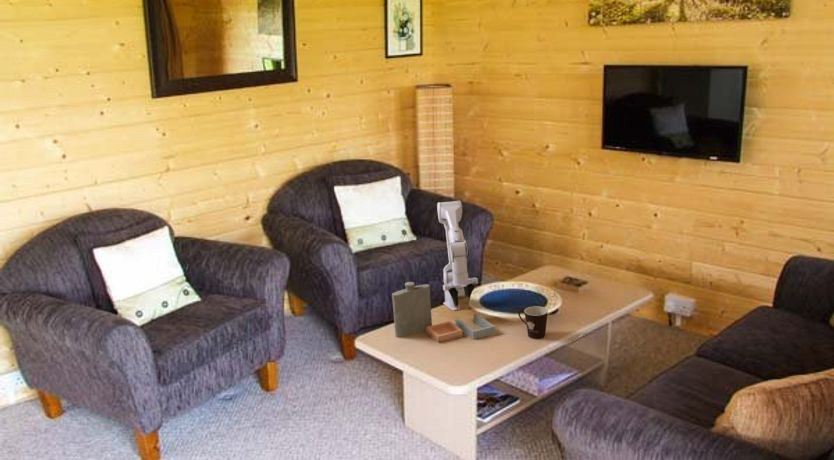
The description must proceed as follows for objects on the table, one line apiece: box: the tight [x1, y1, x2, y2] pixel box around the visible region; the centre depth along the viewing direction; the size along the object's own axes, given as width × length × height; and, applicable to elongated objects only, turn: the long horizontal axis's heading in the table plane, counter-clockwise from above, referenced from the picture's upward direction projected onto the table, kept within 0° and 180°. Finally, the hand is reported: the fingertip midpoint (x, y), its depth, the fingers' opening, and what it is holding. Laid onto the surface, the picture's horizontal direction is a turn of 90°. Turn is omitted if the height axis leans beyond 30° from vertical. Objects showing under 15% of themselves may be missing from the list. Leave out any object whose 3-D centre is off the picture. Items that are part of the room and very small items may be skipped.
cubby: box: [454, 313, 496, 340], centre depth 296 cm, size 15×9×3 cm, turn 24°
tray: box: [425, 320, 464, 344], centre depth 294 cm, size 10×10×2 cm
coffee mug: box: [517, 305, 549, 340], centre depth 288 cm, size 12×9×10 cm
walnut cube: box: [454, 294, 471, 312], centre depth 303 cm, size 4×4×4 cm
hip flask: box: [391, 281, 433, 339], centre depth 296 cm, size 16×4×20 cm, turn 119°
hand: (461, 303), depth 303 cm, fingers closed on walnut cube, 4 cm apart
